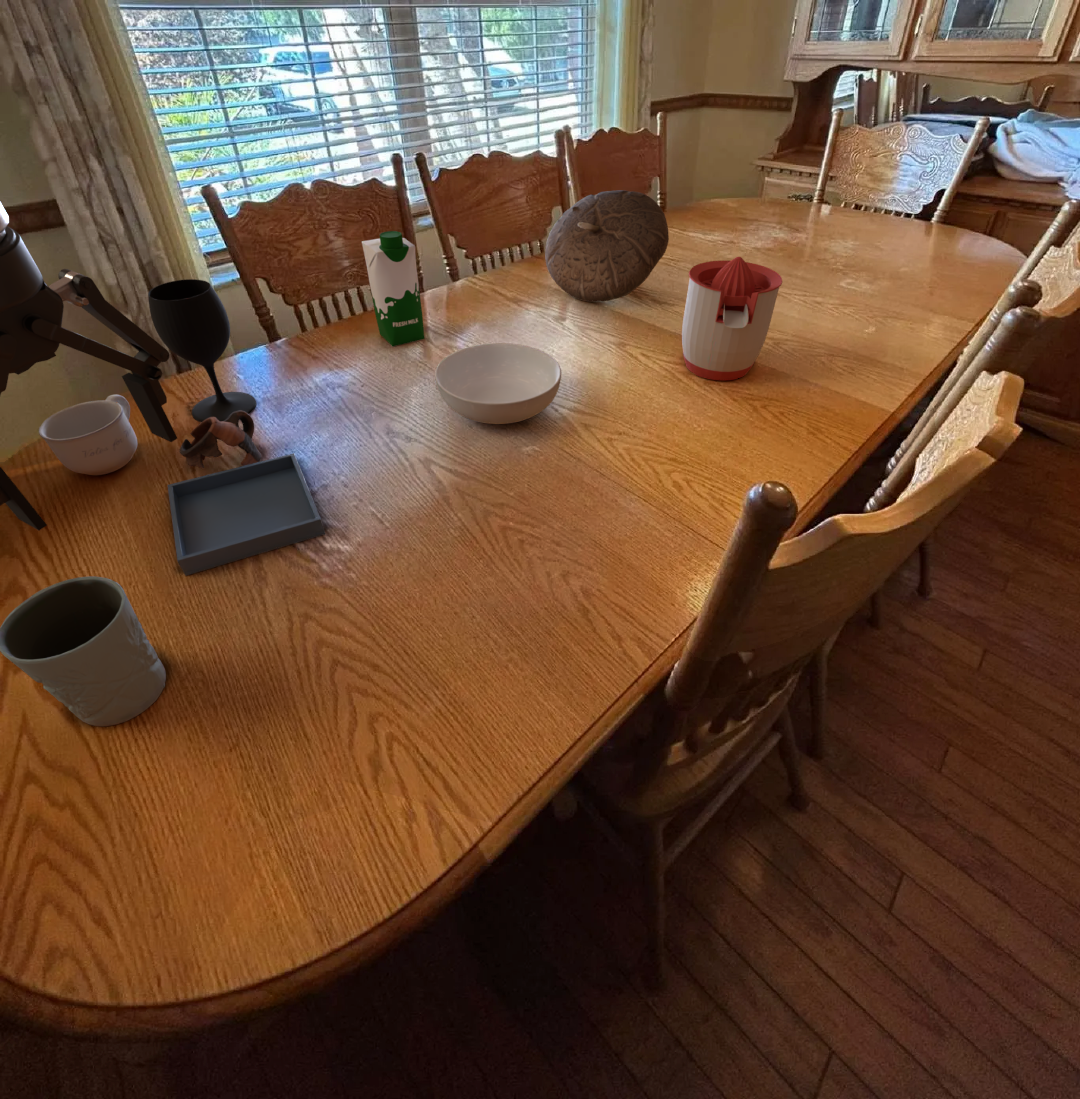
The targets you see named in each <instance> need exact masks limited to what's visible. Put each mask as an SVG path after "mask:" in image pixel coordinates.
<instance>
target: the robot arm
mask: <svg viewBox="0 0 1080 1099" xmlns="http://www.w3.org/2000/svg"><path fill="white" fill-rule="evenodd" d="M9 223H10V217H9V214H8V213H7V211H6V209H5V208H4V206H3V204H2V202H1V201H0V396H1V395H2V393H3V392H5V391H6V390H7V386H8V382H9V375H10V374H15V375H18V376H19V375H21V374H23V373H25V372H28V371H29V370H30V369H31V368H32V367H33V366H34V365H36V363H37V364H38V363H41V362H47V361H49V360H51V359H53V358H55V357H56V356H57V355H56V352H57V351H58V349H59V347H60V345H62V346H66V347H67V348H71V349H73V350H76V351H78V352H82V353H84V354H87V355H88V356H92V357H94V358H97V359H99V360H102V361H104V362H106V363H110V364H112V365H115V366H116V367H120V368H122V369H125V370H127V371H130V372H127V373H125V374H123V375H121V378H122V380H123V382H124V384H125V385H126V387H127V389H128V391H129V393H130V395H131V398H132V399H133V401H134V402H135V404H136V406H137V408H138V410H139V413H140V414H141V416H142V417H143V419H144V422H145V423H146V425H147V427H148V429H149V430H150V433H151V434H152V435H154V436H157V437H159V438H161V439H163V440H165V441H167V442H169V443H173V442H175V441H176V440H177V439H178V435H177V434H176V432H175V430H174V427H173V426H172V424H171V422H170V420H169V418H168V416H167V413H166V412H165V410H164V408H163V406H164V405H165V404H167V403H168V399H167V398H168V397H167V394H166V392H165V391H164V388H163V387H162V384H161V383H160V379H161V378H162V377H163V371H162V369H161V368H160V367H158V366H159V365H160V364H161V363H166V362H167V361H169V359H170V352H169V351H168V349H167V348H165V347H164V346H163V345H161V344H160V343H159V342H158V341H157V340H156V339H154V338H153V337H151V336H150V335H149V334H148V333H147V332H146V331H145V330H143V329H142V328H141V327H139V326H138V325H137V324H136V323H134V322H133V321H132V320H131V319H129V318H128V317H127V316H126V315H125V314H123V313H122V312H121V311H120V310H119V309H117V308H116V307H114V305H112V304H111V303H110V302H109V301H108V300H106V299H105V297H104V295H103V294H102V293H101V291H100V289H99V288H98V286H97V285H96V283H95V282H94V280H93V279H92V278H91V277H89V276H87V275H84V274H82V273H79V272H76V271H74V270H71V269H68V268H63V269H61V270H59V272H58V274H57V275H58V280H56V281H54V282H52V283H51V284H49V285H47V283H46V282H45V280H44V278H43V275H42V272H41V271H40V269H39V267H38V265H37V264H36V262H35V261H34V258H33V257H32V254H31V253H30V251H29V250H28V248H27V246H26V244H25V243H24V241H23V239H22V237H21V235H20V234H19V232H18V231H17V230H15V229H13V228H12V227H10V226H8V225H9ZM64 302H66V303H68V304H70V305H73V306H75V307H78V308H79V307H80V308H82V309H83V310H84V311H86V312H87V313H88V314H89V315H90V316H92V317H93V318H94V319H96V320H97V321H99V322H100V323H101V324H102V325H104V326H105V327H106V328H108V329H109V330H110V331H112V332H113V333H114V334H116V335H117V336H118V337H119V338H121V339H122V340H124V342H126V343H127V344H129V345H130V346H131V347H132V348H134V349H135V350H136V351H137V353H136V354H135V355H134V356H132V355H130V354H127V353H124V352H122V351H120V350H118V349H115V348H113V347H111V346H108V345H106V344H103V343H101V342H99V341H96V340H94V339H91V338H89V337H86V336H84V335H82V334H79V333H77V332H74V331H73V330H70V329H68V328H65V327H64V326H63V319H64V318H63V317H64ZM62 326H63V327H62ZM4 470H5V469H3V468H2V466H0V507H1V506H3V505H4V504H5V505H6V506H7V507H8V509H9V510H10V511H11V512H12V513H13V514H14V515H15V517H16V518H17V519H18V520H20V521H21V522H23V523H25V524H26V525H28V526H30V527H32V528H33V529H35V530H36V531H41V530H43V529H44V528H45V527H47V526H48V524H47V522H46V521H45V520H44V519H43V517H41V515H40V514H39V512H38V511H37V510H36V509H35V508H34V507H33V505H32V504H31V503H30V501H29V500H28V499H27V498H26V497H25V495H24V494H23V492H21V490H20V489H19V488H18V487H17V485H16V484H15V483H14V482H13V480H12V479H11V478H10V476H9V475H8V473H6V471H4Z"/></svg>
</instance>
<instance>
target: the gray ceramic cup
mask: <svg viewBox="0 0 1080 1099" xmlns="http://www.w3.org/2000/svg"><path fill="white" fill-rule="evenodd" d="M0 653H1V655H3V656H4V657H5V658H6V659H8V660H9V661H10V662H11V663H12V664H13V665H15V666H16V667H18V668H19V669H20V670H21V671H23V672H24V673H25V674H26V675H27V676H28V677H30V678H31V679H32V680H33V681H34V682H36V683H39V684H42V685H43V686H42V688H43V689H44V690H45V691H46V692H48V693H49V694H50V695H51V696H52V697H54V698H55V699H56V700H57V701H58V702H60V703H62V704H63V705H64V707H66V708H68V710H69V711H70V712H71V713H72V714H73V715H74V716H75V717H76V718H78V719H79V720H80V721H81V722H83V723H85V724H88V725H90V726H94V727H111V726H116V725H120V724H122V723H125V722H127V721H130V720H132V719H134V718H136V717H137V716H139V715H140V714H142V713H144V712H145V711H146V710H148V709H149V708H150V707H151V706H152V705H153V704H154V703H155V702H156V701H158V699H159V697H160V696H161V695H162V692H163V691H164V689H165V687H166V681H167V674H166V668H165V666H164V663H162V661H161V659H160V658H159V657H158V654H157V652H156V650H155V648H154V647H153V645H152V644H151V643H150V640H149V639H148V636H147V634H146V632H145V630H144V628H143V626H142V623H141V622H140V621H139V618H138V616H137V614H136V613H135V611H134V607H133V606H132V604H131V602H130V599H129V598H128V596H127V594H126V591H125V589H124V588H123V587H122V585H121V584H120V583H119V582H117V581H115V580H113V579H111V578H108V577H102V576H96V575H94V576H93V575H92V576H79V577H73V578H70V579H66V580H62V581H59V582H56V583H54V584H52V585H49V586H47V587H45V588H42V589H41V590H38V591H37V592H35V593H34V594H31V596H30V597H28V598H26V599H25V600H24V601H22V603H20V604H19V605H17V606H16V607H15V608H14V609H13V610H12V611H10V613H9V614H8V615H7V616H6V618H5V619H4V620H3V622H2V624H1V625H0Z"/></svg>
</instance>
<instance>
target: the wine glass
mask: <svg viewBox="0 0 1080 1099" xmlns="http://www.w3.org/2000/svg"><path fill="white" fill-rule="evenodd" d="M147 298H148V299H147V300H148V308H149V313H150V318H151V321H152V324H153V328H154V329H155V331H156V333H157V335H158V337H159V338H160V340H161V341H162V343H163V344H164V345H165V346H166V348H168V349H169V350H170V351H171V352H172V353H173V354H175V355H176V356H179V357H180V358H181V359H183V360H185V361H187V362H189V363H193V364H195V365H199V366H201V367H202V368H203V369H204V370H205V371H206V373H207V375H208V377H209V380H210V382H211V385H212V387H213V390H214V393H215V394H213V395H210V396H207V397H205V398H203V399H200V400H199V401H198V402H196V404H195V405H194V406H193V407H192V409H191V415H192V418H193V419H194V420H195V421H197V422H199V423H201V422H203V421H204V420H205V419H207V418H210V417H216V418H217V419H218V420H219V421H224V420H226V419H227V417H228V416H229V415H230V414H231V413H233V412H235V411H238V410H242V411H245V412H246V413H248V414H249V415H250V414H251V413H252V412H253V411H254V410H255V409H256V407H257V400H256V398H255V397H254V396H253V395H252V394H250V393H246V392H242V391H226V392H223V390H222V388H221V385H220V383H219V380H218V377H217V374H216V371H215V363H216V362H217V360H219V358H221V356H223V353H224V352H225V350H226V349H227V347H228V345H229V342H230V336H231V325H230V320H229V316H228V312H227V310H226V308H225V306H224V304H223V302H222V300H221V298H220V297H219V295H218V293H217V292H216V290H215V289H214V287H213V286H212V285H211V283H210V282H209V281H206V280H203V279H196V278H195V279H192V278H189V279H187V278H186V279H178V280H173V281H172V280H171V281H167V282H165V283H161V284H158V285H157V286H154V287H153V288H151V289H150V290H149V291H148V293H147Z"/></svg>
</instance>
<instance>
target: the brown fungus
mask: <svg viewBox="0 0 1080 1099" xmlns="http://www.w3.org/2000/svg"><path fill="white" fill-rule="evenodd" d="M669 240H670V236H669V226H668V221H667V218H666V215H665V212H664V211H663V208H662V207H661V206H660V205H659V204H658V203H657V201H655V200H654V199H653V198H652V197H651V196H648V195H647V194H646V193H645V194H644V193H643V192H639V191H635V190H634V191H630V190H623V189H622V190H620V189H619V190H615V189H614V190H606V191H600V192H598V193H597V194H587V195H586V196H584V197H583V198H581V199H580V200H578V201H577V202H575V203H574V204H572V206H570V208H568V209H567V210H564V212H563V213H562V215H561V217H559V218H558V219H557V220H556V222H555V223H554V225H553V226H552V228H551V230H550V231H549V234H548V236H547V239H546V243H545V249H544V250H545V253H544V259H545V264H546V265H545V266H546V269H547V271H548V273H549V275H550V277H551V278H552V280H553V281H554V283H555V284H556V285H557V286H558V287H559V288H560V289H561V290H562V291H564V292H565V293H566V294H567V295H569V296H570V297H572V298H575V299H577V300H579V301H584V302H592V303H596V302H601V303H602V302H608V301H612V300H617V299H621V298H623V297H625V296H627V295H629V294H630V293H632V292H633V291H634V290H636V289H637V288H638V287H640V286H641V285H642V284H643V283H644V282H645V280H647V279H648V277H650V275H651V274H652V272H653V270H654V269H655V267H656V266H657V265H658V263H659V262H660V260H661V259H662V258H663V257H664V255H665V254H666V252H667V248H668V245H669V242H670V241H669Z"/></svg>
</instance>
